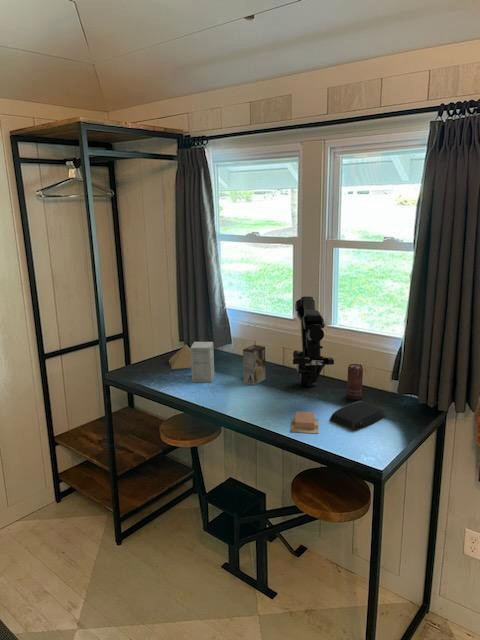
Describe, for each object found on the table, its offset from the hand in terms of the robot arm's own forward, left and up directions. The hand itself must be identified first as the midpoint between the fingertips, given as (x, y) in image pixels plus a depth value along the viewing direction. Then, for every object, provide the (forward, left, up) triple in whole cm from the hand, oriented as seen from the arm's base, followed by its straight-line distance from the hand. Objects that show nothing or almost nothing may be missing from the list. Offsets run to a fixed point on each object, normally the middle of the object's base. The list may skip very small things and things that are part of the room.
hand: (314, 382), depth 198 cm
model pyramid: (-71, -35, -11) cm, 80 cm away
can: (-1, +20, -10) cm, 23 cm away
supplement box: (-46, -33, -10) cm, 58 cm away
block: (+8, -8, -9) cm, 15 cm away
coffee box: (-34, -12, -10) cm, 38 cm away
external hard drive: (+16, +10, -11) cm, 22 cm away
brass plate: (+14, -11, -10) cm, 21 cm away
